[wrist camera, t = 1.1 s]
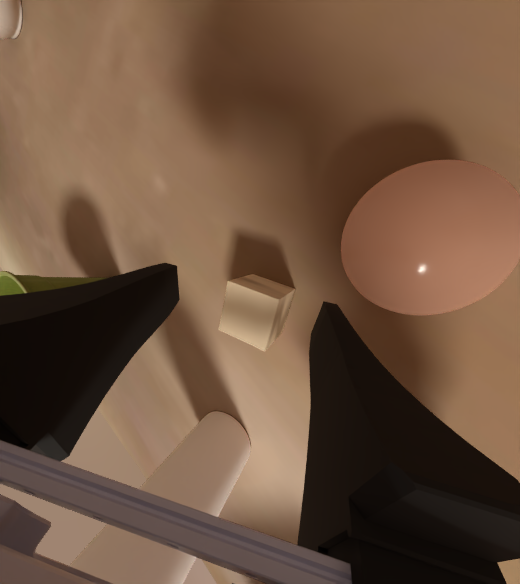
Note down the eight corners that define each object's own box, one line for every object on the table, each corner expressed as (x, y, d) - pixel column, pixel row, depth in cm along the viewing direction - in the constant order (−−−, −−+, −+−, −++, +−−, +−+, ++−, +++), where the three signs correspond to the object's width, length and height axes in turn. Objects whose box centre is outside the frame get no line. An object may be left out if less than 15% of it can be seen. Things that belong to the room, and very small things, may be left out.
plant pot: (92, 253, 35) (-17, 257, 25) (143, 277, 31) (39, 292, 21) (92, 318, 39) (-1, 344, 29) (138, 346, 35) (48, 388, 25)
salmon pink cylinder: (443, 313, 17) (471, 337, 13) (331, 279, 20) (323, 288, 16) (508, 193, 14) (573, 171, 10) (367, 174, 18) (370, 150, 13)
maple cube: (282, 331, 23) (264, 351, 19) (243, 314, 25) (218, 329, 21) (295, 288, 22) (279, 299, 17) (252, 273, 24) (227, 280, 19)
